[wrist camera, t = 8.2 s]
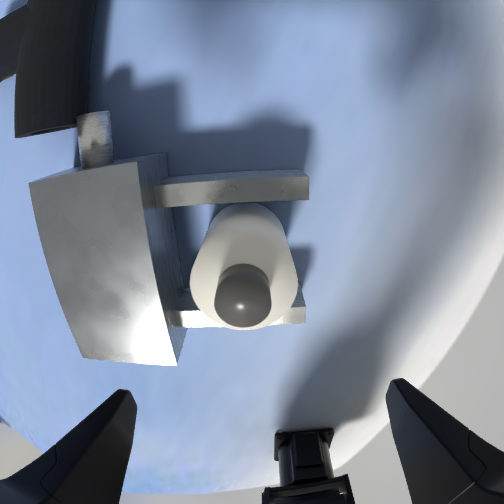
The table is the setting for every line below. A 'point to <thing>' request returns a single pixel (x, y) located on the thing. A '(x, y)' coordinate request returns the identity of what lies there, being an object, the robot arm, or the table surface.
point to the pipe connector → (47, 63)
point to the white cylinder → (244, 269)
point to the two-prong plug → (135, 244)
